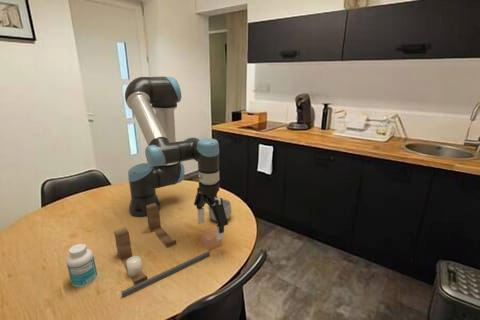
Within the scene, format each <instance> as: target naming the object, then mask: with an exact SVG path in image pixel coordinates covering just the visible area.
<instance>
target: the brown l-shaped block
mask: <svg viewBox="0 0 480 320" xmlns="http://www.w3.org/2000/svg"><path fill="white" fill-rule="evenodd" d="M146 209H147V216H146V217H147V223H148V229H149V230H150V232H151V233H154V234H155V235H156V237H157V238H158V239H159V240H160V241H161V242H162V243H163V245H164V246H165V247H166V248H170V247H173V246H175V245H177V240H176V239H173V238H172V237H171V236H170V235H169V233H167V231H165V230H164V227H162V226H161V219H160V217H161V216H160V210H159V206H158V205H157V204H156V203H153V204H150V205H146Z"/></svg>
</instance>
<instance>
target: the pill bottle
mask: <svg viewBox="0 0 480 320" xmlns="http://www.w3.org/2000/svg"><path fill="white" fill-rule="evenodd" d="M87 247H88V246H87V245H86V244H85V243H77V244H75V245H73V246H71V247H70V248H69V250H68V253H69V255H68V256H67V258H66V259H65V261H66V267H67V270H68V274H69V278H70V282H71V285H72V286H73V287H75V288H83V287H86V286H88V285H90V284H92V283H93V282H95V281H96V280H97V278H98V272H97V266H96V262H95V257H94V252H93V250H91V249H90V248H87Z"/></svg>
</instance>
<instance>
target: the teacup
mask: <svg viewBox="0 0 480 320" xmlns="http://www.w3.org/2000/svg"><path fill="white" fill-rule="evenodd" d="M220 198H222V200H223V207H224V211H225V214H226V218H227V220H228V219H229V218H230V216H231V215H232V202H231V201H230V200H229V199H225V198H223V197H219V199H220ZM214 205H215V204H214ZM214 205H212V206H214ZM207 207H208V215H209V217H210V219H211V220H212V221H215V222H217V221H216V219H215V216H214V214H213V211H212V209H210V207H209V205H208V204H207Z"/></svg>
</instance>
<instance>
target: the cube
mask: <svg viewBox="0 0 480 320" xmlns="http://www.w3.org/2000/svg"><path fill="white" fill-rule="evenodd" d="M200 243H201V245H203V246H204V248H205V249H207V250H208V251H211V250H213V249H214V248H217V247H219V246H222V245H223V239H221V240H218V241H217V236H216V228H214V227H213V228H211V229H208V230H205V231H203V232H200Z"/></svg>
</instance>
